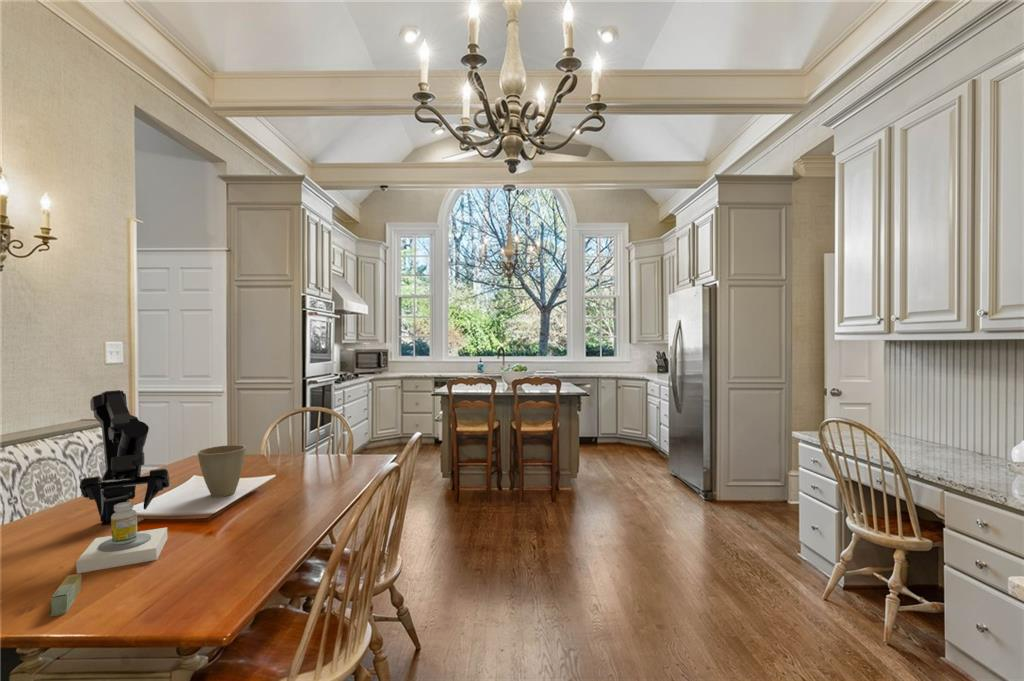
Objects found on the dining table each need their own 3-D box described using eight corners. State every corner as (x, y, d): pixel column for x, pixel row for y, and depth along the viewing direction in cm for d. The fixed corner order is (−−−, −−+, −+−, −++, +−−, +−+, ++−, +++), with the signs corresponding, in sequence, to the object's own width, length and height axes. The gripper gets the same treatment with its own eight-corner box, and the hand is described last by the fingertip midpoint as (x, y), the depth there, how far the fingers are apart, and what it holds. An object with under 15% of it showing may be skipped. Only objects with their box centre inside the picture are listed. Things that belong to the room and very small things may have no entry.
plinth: (167, 538, 147) (167, 525, 147) (156, 559, 133) (156, 546, 133) (96, 549, 141) (95, 536, 141) (76, 573, 126) (76, 559, 126)
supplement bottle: (134, 542, 135) (132, 505, 135) (109, 546, 133) (107, 508, 133) (140, 535, 140) (138, 499, 140) (115, 539, 138) (114, 502, 138)
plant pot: (254, 492, 189) (253, 447, 189) (210, 503, 178) (208, 456, 177) (235, 485, 199) (233, 442, 198) (191, 495, 187) (190, 450, 187)
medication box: (66, 614, 108) (66, 595, 108) (49, 618, 106) (49, 598, 106) (81, 590, 118) (81, 572, 118) (66, 593, 117) (66, 574, 117)
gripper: (79, 447, 136) (69, 501, 126) (166, 438, 144) (162, 489, 134) (89, 470, 143) (79, 524, 133) (171, 461, 151) (167, 511, 142)
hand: (122, 511), depth 135 cm, fingers open, 9 cm apart
